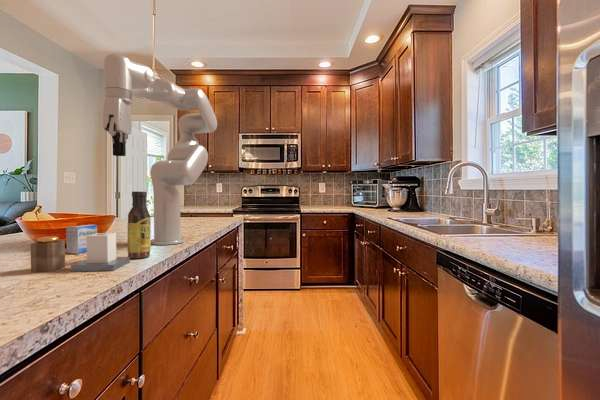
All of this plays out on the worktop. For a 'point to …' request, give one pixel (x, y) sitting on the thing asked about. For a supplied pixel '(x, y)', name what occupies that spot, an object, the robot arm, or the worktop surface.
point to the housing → (101, 247)
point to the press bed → (101, 265)
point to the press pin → (47, 239)
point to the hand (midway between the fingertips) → (119, 155)
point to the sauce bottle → (139, 227)
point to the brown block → (47, 256)
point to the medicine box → (78, 238)
